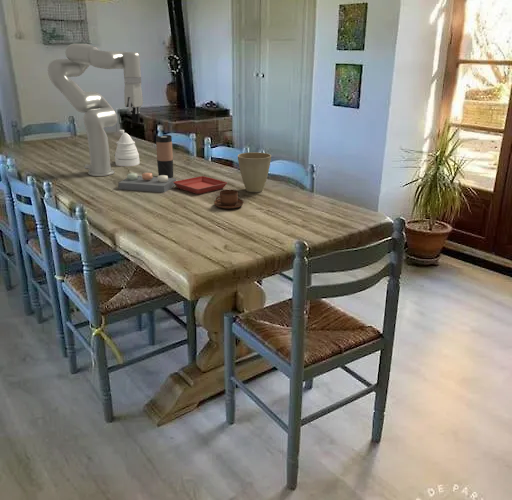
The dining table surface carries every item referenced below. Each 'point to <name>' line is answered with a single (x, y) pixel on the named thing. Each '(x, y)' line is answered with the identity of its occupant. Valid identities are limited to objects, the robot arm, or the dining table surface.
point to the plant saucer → (200, 184)
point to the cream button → (162, 178)
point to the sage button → (132, 176)
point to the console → (147, 184)
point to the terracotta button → (147, 176)
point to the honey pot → (126, 151)
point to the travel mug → (164, 155)
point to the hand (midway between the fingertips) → (136, 122)
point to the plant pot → (254, 170)
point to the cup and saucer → (228, 199)
